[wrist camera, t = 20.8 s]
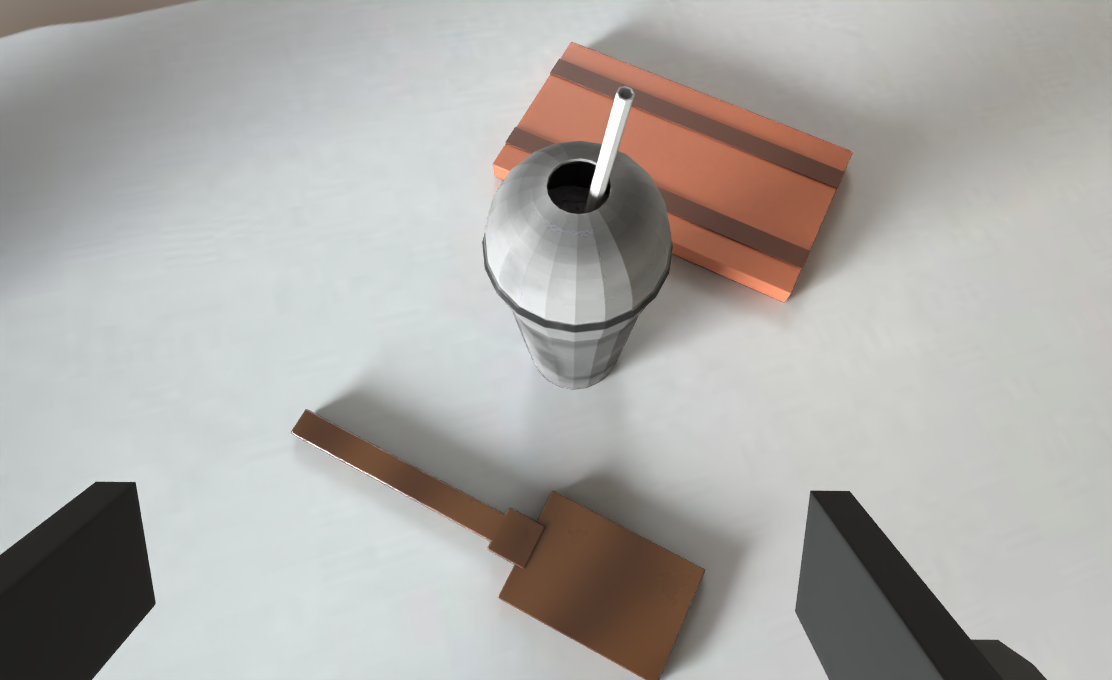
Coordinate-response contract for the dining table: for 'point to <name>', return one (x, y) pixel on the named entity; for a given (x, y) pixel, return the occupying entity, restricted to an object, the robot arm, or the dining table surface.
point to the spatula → (552, 558)
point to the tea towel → (697, 165)
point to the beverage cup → (578, 251)
